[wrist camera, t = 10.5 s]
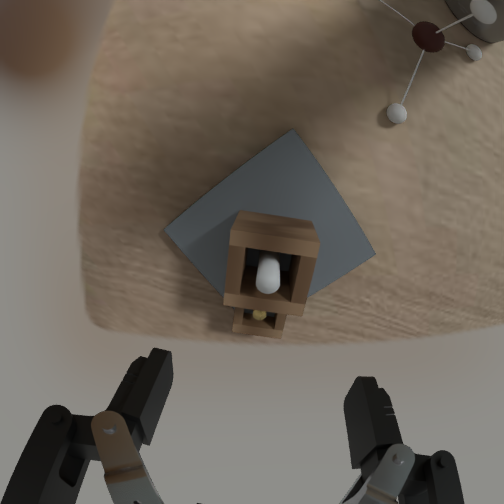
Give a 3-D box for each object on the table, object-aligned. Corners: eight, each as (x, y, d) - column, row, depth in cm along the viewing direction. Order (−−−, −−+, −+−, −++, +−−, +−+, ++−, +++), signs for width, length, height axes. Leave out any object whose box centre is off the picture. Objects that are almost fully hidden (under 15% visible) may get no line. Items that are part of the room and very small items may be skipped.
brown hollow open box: (311, 220, 23) (320, 243, 19) (287, 326, 28) (288, 361, 23) (239, 210, 23) (230, 229, 19) (227, 318, 28) (219, 352, 23)
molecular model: (385, 124, 21) (472, 124, 9) (341, -18, 15) (377, -94, 4) (489, 121, 19) (577, 134, 7) (451, -5, 13) (517, -40, 2)
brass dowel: (262, 294, 26) (260, 306, 24) (269, 303, 27) (269, 316, 25) (251, 301, 27) (250, 313, 25) (259, 309, 27) (258, 322, 25)
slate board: (292, 128, 21) (299, 125, 15) (372, 248, 25) (400, 287, 18) (167, 225, 26) (134, 257, 19) (253, 321, 29) (247, 371, 23)
